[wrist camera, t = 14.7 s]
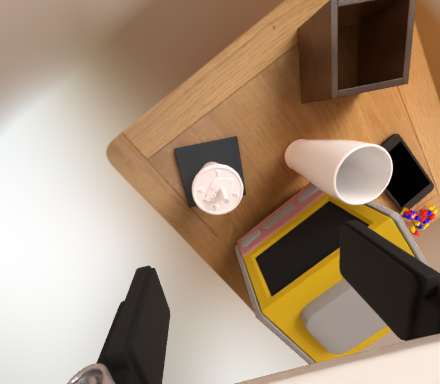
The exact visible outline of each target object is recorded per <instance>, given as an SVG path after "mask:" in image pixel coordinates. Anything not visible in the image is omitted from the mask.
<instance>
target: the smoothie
mask: <svg viewBox="0 0 440 384" xmlns="http://www.w3.org/2000/svg"><path fill="white" fill-rule="evenodd" d="M192 195H193V199H194V201H195V203H196V204H197V206H198V207H199V208H200V209H201V210H203V211H204V212H206V213H209V214H213V215H221V214H225V213H228V212H230V211H232V210H233V209H234V208H235V207H236V206H237V205H238V204H239V203H240V201H241V199H242V196H243V183H242V180H241V178H240V176H239V175H238V173H237V172H236V171H235V170H234V169H233V168H231V167H229V166H227V165H222V164H218V163H216V162H208V163H206V164H205V165H204V166H203V167H202V169H201V170H200V172H199V173H198V174H197V175H196V176H195V178H194V180H193V184H192Z"/></svg>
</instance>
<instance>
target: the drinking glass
mask: <svg viewBox="0 0 440 384" xmlns="http://www.w3.org/2000/svg"><path fill="white" fill-rule="evenodd" d="M285 162H286V164H287V165H288V167H289V168H291V169H292V170H294V171H296V172H297V173H299V174H300V175H301V176H303V177H304V178H305V179H307V180H308V181H309V182H311V183H312V184H313V185H315V186H316V187H317V188H319V189H320V190H321V191H323V192H325V193H326V194H328V195H330V196H332V197H334V198H336V199H338V200H340V201H342V202H344V203H346V204H350V205H362V204H365V203H368V202H370V201H372V200H374V199H375V198H377V197H378V196H379V195H380V194H381V193H382V192H383V191H384V190H385V188H386V187H387V185H388V183H389V181H390V179H391V176H392V171H393V164H392V159H391V157H390V155H389V153H388V152H387V151H386V150H385V149H384V148H383V147H381V146H379V145H376V144H371V143H366V142H361V141H353V140H308V139H298V140H295V141H293V142H292V143H291V144H290V145H289V146H288V147H287V149H286V152H285Z"/></svg>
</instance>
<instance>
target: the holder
mask: <svg viewBox="0 0 440 384" xmlns="http://www.w3.org/2000/svg"><path fill="white" fill-rule="evenodd" d="M415 5H416V0H330V1H329V2H327V3H326V4H325V5H324V6H323V7H322V8H321V9H319V10H318V11H317V12H316V13H315V14H314V15H313V16H312V17H310V18H309V19H308V20H307V21H306V22H305V23H304V24H303V25H301V26H300V27H299V28H298V44H299V63H300V81H301V100H302V103H307V102H313V101H320V100H326V99H333V98H338V97H343V96H348V95H353V94H358V93H363V92H368V91H373V90H378V89H383V88H389V87H394V86H399V85H404V84H408V79H409V68H410V58H411V47H412V37H413V26H414V16H415ZM356 24H359V40H358V80H357V87H353V88H348V89H343V90H338V28H340V27H345V26H351V25H356Z"/></svg>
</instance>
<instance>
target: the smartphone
mask: <svg viewBox="0 0 440 384" xmlns="http://www.w3.org/2000/svg"><path fill="white" fill-rule="evenodd" d="M380 146H381V147H383V148H384V149H385V150H386V151H387V152H388V153H389V155H390V157H391V159H392V164H393V171H392V176H391V179H390V181H389V183H388V185H387V187H386V188H385V190H384V192H385V193H386V194H387V195H388V197H389V198H390V199H391V200H392V202H393V203H394V204H395V205H396V207H397V208H398V209H399V210H400V211H402V210H403V208H404V207H405V208H408V209H411V208H412V207H413V206H414V205H415V204H417V203H418V202H419V201H420V200H421V199H423V198H424V197H425V196H426V195H427V194H429V193H430V192H431V191H432V190H433V188H434V184H433V183H432V181H431V180H430V178H429V177H428V175H427V174H426V172H425V171H424V170H423V168H422V167H421V165H420V164H419V162H418V161H417V159H416V158H415V156H414V155H413V154H412V152H411V151H410V149H409V148H408V146H407V145H406V143H405V142H404V141H403V139H402V138H401V136H400V135H398V134H393V135H391V136H390V137H389V138H388V139H387V140H386V141H385V142H384V143H382V144H381V145H380Z"/></svg>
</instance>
